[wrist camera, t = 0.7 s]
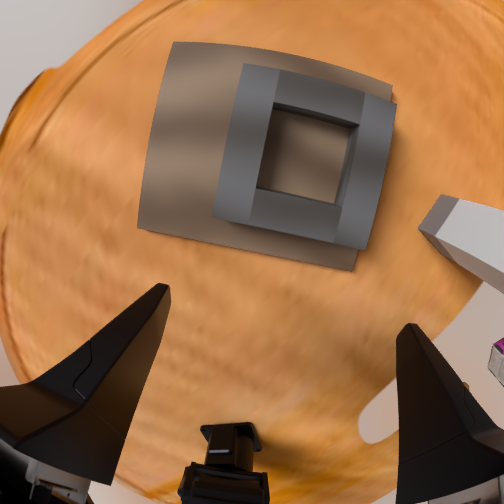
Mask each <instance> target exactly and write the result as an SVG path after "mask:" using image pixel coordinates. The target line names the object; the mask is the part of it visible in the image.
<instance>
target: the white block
mask: <svg viewBox="0 0 504 504" xmlns="http://www.w3.org/2000/svg"><path fill="white" fill-rule="evenodd" d="M418 229H419V230H420V231H421V232H422V233H423V234H424V235H425V237H426V238H427V239H428V240H429V241H430V242H431V243H432V244H433V245H434V247H435V248H436V249H437V250H438V251H439V252H440V254H442V255H444V256H445V257H447V258H449V259H450V260H452V261H454V262H455V263H457V264H459V265H460V266H462V267H463V268H465V269H467V270H468V271H470V272H471V273H473V274H475V275H476V276H478V277H479V278H481V279H482V280H484V281H485V282H487V283H488V284H490V285H491V286H493V287H494V288H496V289H497V290H499V291H500V292H502V293H503V294H504V211H503V210H500V209H496V208H493V207H489V206H486V205H482V204H478V203H474V202H471V201H467V200H463V199H458V198H454V197H450V196H446V195H440V197H439V198H438V200H437V201H436V203H435V204H434V206H433V207H432V209H431V210H430V211H429V213H428V214H427V216H426V217H425V219H424V220H423V221H422V223H421V224H420V226H419V227H418Z"/></svg>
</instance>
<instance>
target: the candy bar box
mask: <svg viewBox="0 0 504 504" xmlns="http://www.w3.org/2000/svg"><path fill="white" fill-rule="evenodd" d="M488 368H489V370H490V371H491V372H492V373H493V375H494V376H495V377H496V378H497V379H498V381H499V382H500V383H501V384H502V385H503V387H504V338H502V339H501V340H499V341H497V342H496V343H494V344H493V346H492V350H491V356H490V360H489V364H488Z"/></svg>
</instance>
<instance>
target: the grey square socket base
mask: <svg viewBox="0 0 504 504" xmlns="http://www.w3.org/2000/svg"><path fill="white" fill-rule="evenodd" d="M392 86H393V85H390V84H388V83H385V82H383V81H380V80H378V79H375V78H372V77H370V76H367V75H364V74H361V73H358V72H355V71H352V70H349V69H346V68H342V67H339V66H336V65H332V64H329V63H325V62H321V61H318V60H314V59H310V58H306V57H301V56H297V55H292V54H287V53H282V52H277V51H271V50H266V49H259V48H252V47H245V46H237V45H227V44H216V43H201V42H173V44H172V48H171V51H170V54H169V58H168V61H167V65H166V68H165V72H164V76H163V79H162V83H161V87H160V91H159V95H158V100H157V104H156V108H155V113H154V118H153V122H152V127H151V132H150V138H149V143H148V149H147V154H146V160H145V167H144V173H143V180H142V188H141V196H140V204H139V213H138V223H137V228H139V229H144V230H149V231H154V232H159V233H164V234H169V235H174V236H179V237H184V238H189V239H194V240H199V241H203V242H208V243H213V244H218V245H223V246H228V247H233V248H238V249H243V250H248V251H253V252H258V253H263V254H268V255H273V256H278V257H282V258H287V259H292V260H297V261H302V262H307V263H312V264H317V265H322V266H327V267H332V268H337V269H342V270H346V271H351V272H352V270H353V267H354V264H355V260H356V257H357V254H358V250H359V249H362V250H365V249H366V246H367V243H368V239H369V236H370V232H371V228H372V225H373V221H374V217H375V213H376V209H377V205H378V201H379V197H380V193H381V188H382V184H383V180H384V175H385V170H386V165H387V160H388V155H389V150H390V144H391V139H392V133H393V127H394V120H395V113H396V106H397V104H395V103H393V102H391V94H392Z"/></svg>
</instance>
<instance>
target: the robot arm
mask: <svg viewBox="0 0 504 504" xmlns="http://www.w3.org/2000/svg"><path fill="white" fill-rule="evenodd" d="M170 306H171V294H170V286H169V285H167V284H162V283H158V284H156V285H155V286H154V287H152V288H151V289H150V290H149V291H147V292H146V293H145V294H144V295H142V296H141V297H140V298H139V299H137V300H136V301H135V302H134V303H132V304H131V305H130V306H129V307H128V308H126V309H125V310H124V311H123V312H121V313H120V314H119V315H118V316H117V317H115V318H114V319H113V320H112V321H111V322H109V323H108V324H107V325H106V326H105V327H103V328H102V329H101V330H100V331H99V332H97V333H96V334H95V335H94V336H93V337H91V338H90V340H88V341H87V342H85V343H84V344H83V345H82V346H81V347H79V348H78V349H77V350H76V351H75V352H73V353H72V354H71V355H69V356H68V357H67V358H65V359H64V360H62V361H61V362H60V363H58V364H57V365H55V366H54V367H52V368H51V369H49V370H48V371H47V372H45V373H44V374H42V375H41V376H39V377H38V378H36V379H35V380H33V381H31V382H28V383H25V384H21V385H14V386H5V387H0V504H94V503H93V501H92V499H91V498H90V496H89V494H88V490H89V486H90V483H91V481H95V482H98V483H102V484H106V485H109V486H111V484H112V481H113V477H114V474H115V471H116V467H117V464H118V461H119V458H120V455H121V452H122V448H123V445H124V442H125V440H124V439H126V436H127V433H128V430H129V427H130V424H131V421H132V419H133V416H134V413H135V410H136V407H137V404H138V402H139V399H140V396H141V393H142V391H143V388H144V385H145V382H146V380H147V377H148V374H149V372H150V369H151V367H152V364H153V361H154V359H155V356H156V354H157V351H158V348H159V346H160V343H161V339H162V336H163V332H164V328H165V324H166V321H167V317H168V313H169V310H170ZM396 378H397V392H398V411H399V465H398V481H397V494H396V504H416V503H421V502H425V501H428V504H504V430H503V429H501V428H499V427H498V426H497V425H496V424H495V423H494V422H493V421H492V419H491V418H490V417H489V416H488V414H487V413H486V412H485V411H484V410H483V408H482V407H481V406H480V405H479V403H478V402H477V401H476V400H475V398H474V397H473V396H472V394H471V393H470V392H469V390H468V389H467V387H466V386H464V383H463V382H462V381H461V379H460V378H459V377H458V375H457V374H456V373H455V371H454V370H453V369H452V367H451V366H450V365H449V364H448V362H447V361H446V360H445V359H444V357H443V356H442V354H441V353H440V352H439V351H438V349H437V348H436V347H435V346H434V344H433V343H432V342H431V341H430V339H429V338H428V337H427V336H426V335H425V333H424V332H423V331H422V330H421V329H420V327H419V326H418V325H417V324H413V323H408V324H406V325H405V326H404V328H403V329H402V330H401V332H400V333H399V334H398V336H397V338H396ZM200 431H201V432H202V434H203V435H204V437H205V439H206V440H207V442H208V447H207V452H206V457H205V462H204V465H203V464H198V463H196V462H191V466H188V467H185V471H184V475H183V478H182V481H181V483H180V486H179V488H178V492H177V493H178V495H179V496H180V497H181V501H182V504H269V502H270V495H269V486H268V476H267V472H262V473H259V472H253V454H254V452H260V451H261V450H262V447H261V445H260V443H259V440H258V438H257V436H256V434H255V431H254V429H253V427H252V424H251V423H236V424H223V425H204V426H201V427H200Z"/></svg>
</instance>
